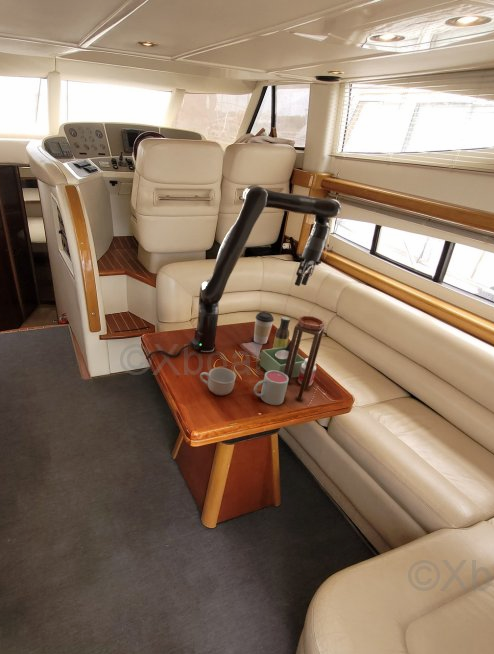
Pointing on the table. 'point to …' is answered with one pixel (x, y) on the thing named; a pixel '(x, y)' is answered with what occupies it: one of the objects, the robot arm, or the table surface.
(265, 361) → the bin
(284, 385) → the mug
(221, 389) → the teacup
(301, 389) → the stand
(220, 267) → the robot arm
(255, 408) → the table surface
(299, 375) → the pill bottle
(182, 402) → the table surface
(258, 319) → the coffee cup
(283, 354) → the small saucepan
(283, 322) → the sauce bottle
